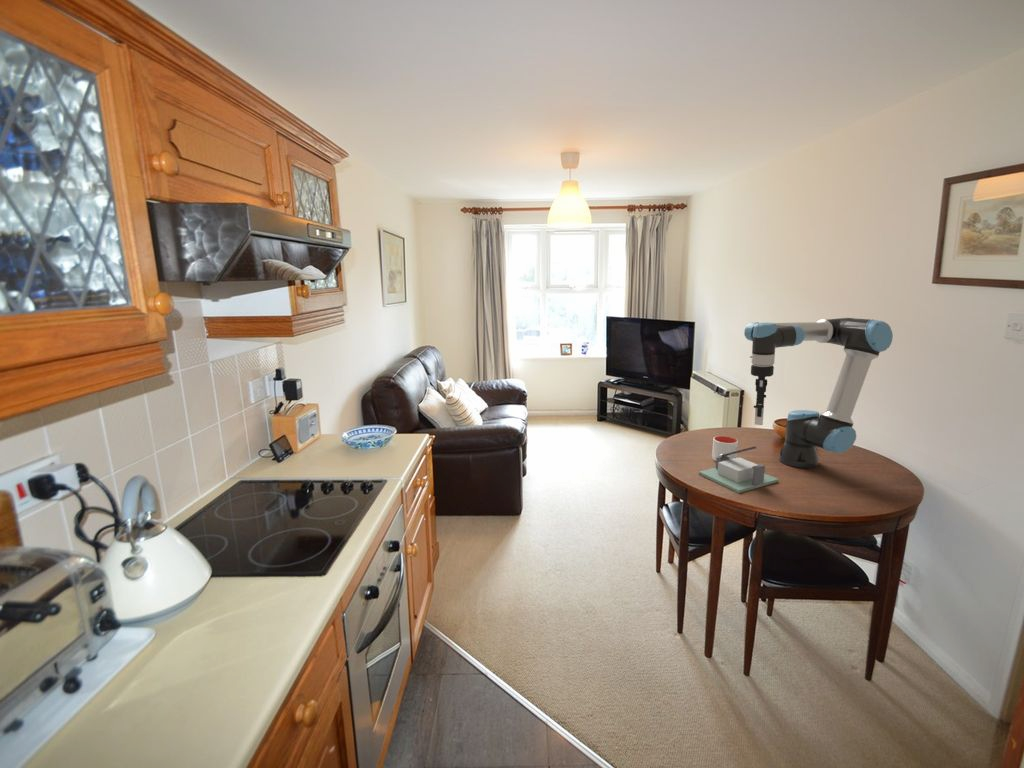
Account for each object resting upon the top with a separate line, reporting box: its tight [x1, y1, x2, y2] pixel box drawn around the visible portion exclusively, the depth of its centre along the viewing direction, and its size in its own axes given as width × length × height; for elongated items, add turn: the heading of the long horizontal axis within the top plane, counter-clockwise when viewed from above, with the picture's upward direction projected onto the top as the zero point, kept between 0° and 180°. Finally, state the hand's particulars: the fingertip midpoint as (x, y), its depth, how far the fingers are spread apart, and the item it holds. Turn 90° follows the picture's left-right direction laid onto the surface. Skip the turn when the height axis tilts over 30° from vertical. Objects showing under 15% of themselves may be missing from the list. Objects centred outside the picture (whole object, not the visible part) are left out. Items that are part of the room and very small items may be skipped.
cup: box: [711, 435, 739, 462], centre depth 215 cm, size 10×10×10 cm
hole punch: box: [698, 456, 779, 494], centre depth 197 cm, size 22×20×9 cm
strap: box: [718, 446, 757, 458], centre depth 197 cm, size 4×17×1 cm, turn 25°
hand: (758, 419), depth 185 cm, fingers open, 13 cm apart
